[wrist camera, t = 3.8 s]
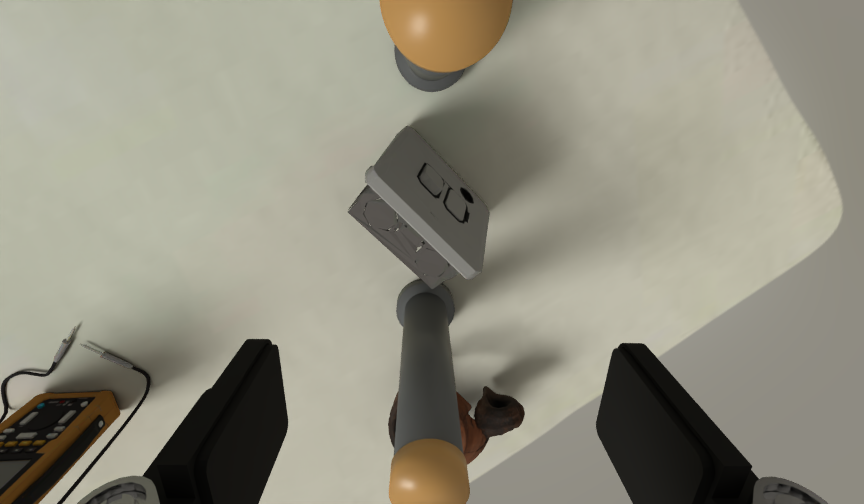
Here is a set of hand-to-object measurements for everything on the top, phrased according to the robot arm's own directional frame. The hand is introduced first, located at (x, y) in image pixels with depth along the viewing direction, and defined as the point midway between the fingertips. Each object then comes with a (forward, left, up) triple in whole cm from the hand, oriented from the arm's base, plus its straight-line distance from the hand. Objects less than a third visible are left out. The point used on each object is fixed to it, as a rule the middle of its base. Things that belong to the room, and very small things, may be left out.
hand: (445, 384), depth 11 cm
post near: (-10, 0, -22) cm, 24 cm away
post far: (+10, 0, -22) cm, 24 cm away
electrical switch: (0, 0, -23) cm, 23 cm away
